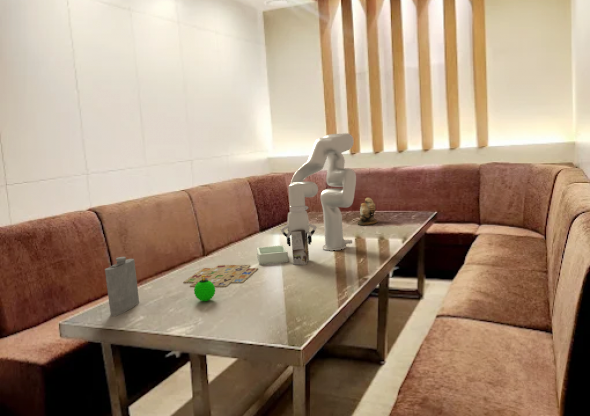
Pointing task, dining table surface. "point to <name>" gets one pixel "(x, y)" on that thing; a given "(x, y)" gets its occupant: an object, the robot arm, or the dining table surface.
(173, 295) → the dining table surface
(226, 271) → the alphabet tiles
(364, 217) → the owl figurine
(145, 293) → the dining table surface
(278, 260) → the bin
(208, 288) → the ornament
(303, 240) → the coffee box
